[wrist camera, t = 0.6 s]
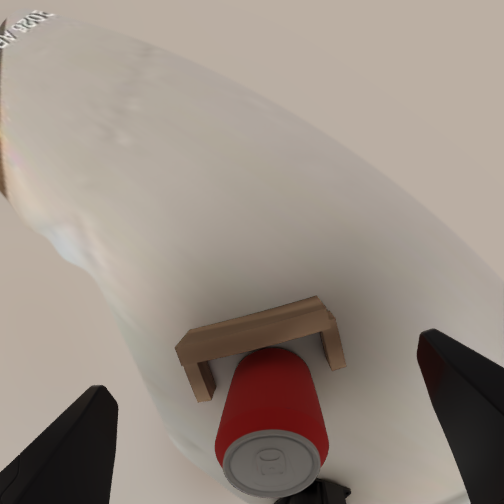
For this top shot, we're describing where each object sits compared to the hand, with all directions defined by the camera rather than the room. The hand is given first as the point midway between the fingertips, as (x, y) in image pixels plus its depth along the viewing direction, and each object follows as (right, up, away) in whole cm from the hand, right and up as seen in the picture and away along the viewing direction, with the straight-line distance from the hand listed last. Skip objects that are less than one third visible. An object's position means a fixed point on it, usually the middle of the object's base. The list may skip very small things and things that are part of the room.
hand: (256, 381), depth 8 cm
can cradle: (+1, -5, +18) cm, 19 cm away
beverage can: (+2, -8, +18) cm, 20 cm away
